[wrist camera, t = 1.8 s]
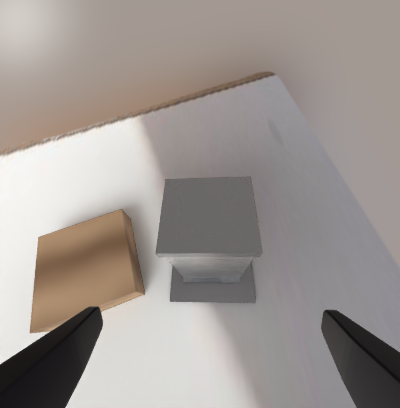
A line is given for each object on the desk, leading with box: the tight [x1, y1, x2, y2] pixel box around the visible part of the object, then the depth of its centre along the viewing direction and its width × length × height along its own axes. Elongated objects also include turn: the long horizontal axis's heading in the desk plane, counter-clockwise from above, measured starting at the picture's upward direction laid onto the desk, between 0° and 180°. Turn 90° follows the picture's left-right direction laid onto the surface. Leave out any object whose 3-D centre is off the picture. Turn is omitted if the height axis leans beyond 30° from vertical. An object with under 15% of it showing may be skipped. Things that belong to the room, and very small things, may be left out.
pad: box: [170, 262, 256, 303], centre depth 20 cm, size 8×8×1 cm
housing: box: [156, 177, 262, 284], centre depth 15 cm, size 5×5×10 cm
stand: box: [30, 209, 145, 333], centre depth 20 cm, size 9×9×2 cm
